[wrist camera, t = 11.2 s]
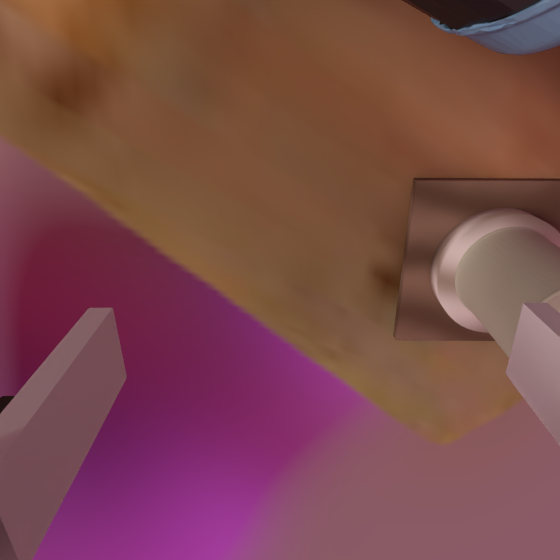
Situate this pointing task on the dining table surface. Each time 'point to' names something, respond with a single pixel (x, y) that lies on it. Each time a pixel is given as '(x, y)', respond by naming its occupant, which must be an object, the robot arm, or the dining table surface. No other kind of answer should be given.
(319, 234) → the dining table surface
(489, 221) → the stand
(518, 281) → the can
